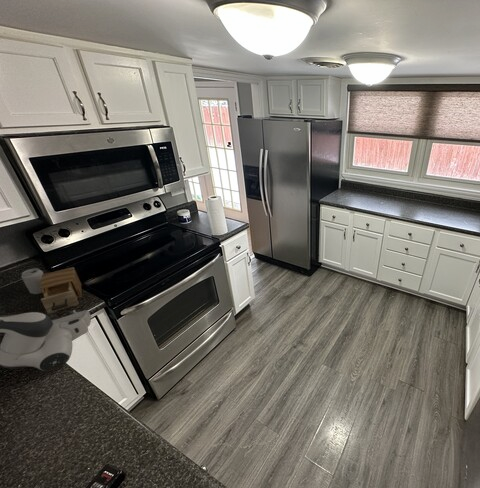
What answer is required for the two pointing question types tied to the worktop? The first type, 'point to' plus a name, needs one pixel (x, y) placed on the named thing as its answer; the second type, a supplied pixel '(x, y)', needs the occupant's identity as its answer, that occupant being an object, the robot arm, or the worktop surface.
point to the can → (32, 280)
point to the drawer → (59, 297)
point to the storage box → (61, 280)
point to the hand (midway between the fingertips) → (58, 316)
